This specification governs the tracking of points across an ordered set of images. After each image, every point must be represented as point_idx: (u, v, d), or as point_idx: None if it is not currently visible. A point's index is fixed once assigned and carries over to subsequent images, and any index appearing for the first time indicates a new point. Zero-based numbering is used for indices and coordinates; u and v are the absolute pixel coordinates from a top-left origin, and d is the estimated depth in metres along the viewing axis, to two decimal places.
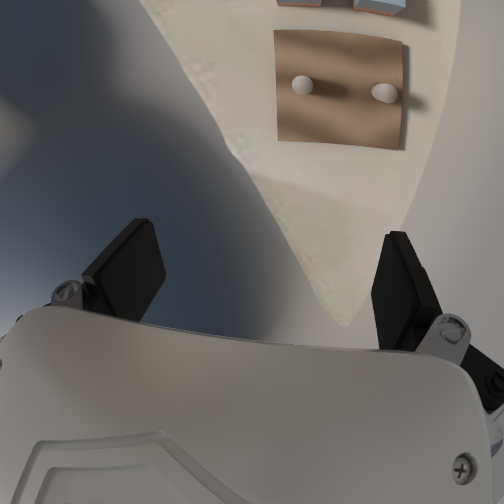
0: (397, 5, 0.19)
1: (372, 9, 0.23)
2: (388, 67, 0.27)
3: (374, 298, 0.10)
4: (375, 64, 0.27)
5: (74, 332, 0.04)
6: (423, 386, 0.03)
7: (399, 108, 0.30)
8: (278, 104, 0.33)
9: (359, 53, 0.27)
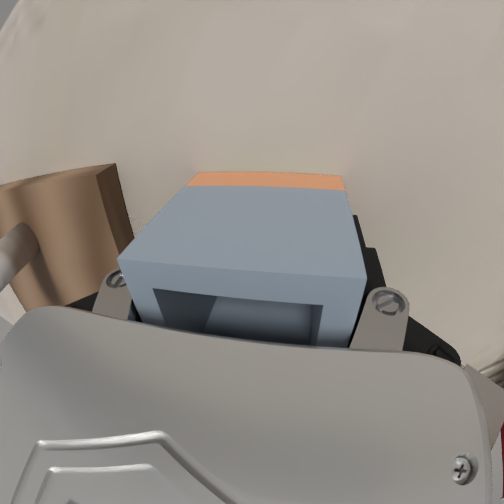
0: None
1: None
2: None
3: None
4: None
5: (74, 332, 0.04)
6: (423, 386, 0.03)
7: None
8: None
9: None
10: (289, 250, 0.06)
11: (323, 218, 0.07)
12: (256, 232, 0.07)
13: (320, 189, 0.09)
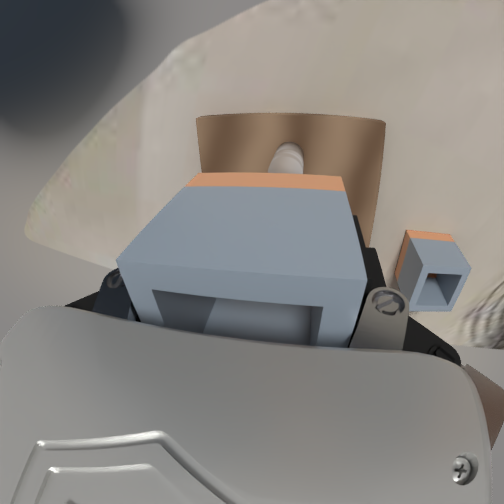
0: None
1: (405, 257, 0.26)
2: None
3: None
4: None
5: (74, 332, 0.04)
6: (423, 386, 0.03)
7: None
8: (255, 117, 0.21)
9: None
10: (289, 251, 0.06)
11: (323, 219, 0.07)
12: (256, 233, 0.07)
13: (320, 190, 0.09)
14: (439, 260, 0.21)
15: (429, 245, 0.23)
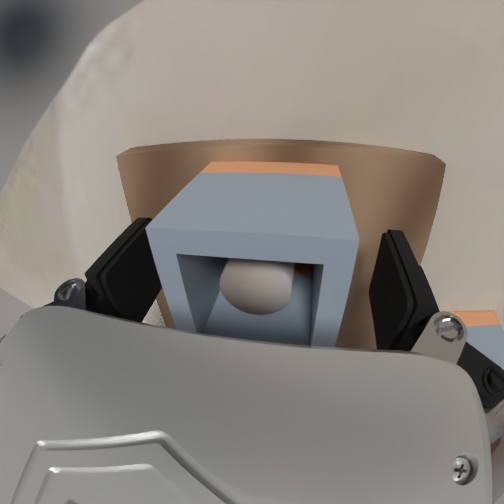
0: None
1: None
2: None
3: (372, 296, 0.10)
4: None
5: (74, 332, 0.04)
6: (423, 386, 0.03)
7: None
8: (209, 151, 0.12)
9: (353, 329, 0.17)
10: (294, 219, 0.07)
11: (322, 197, 0.09)
12: (266, 207, 0.08)
13: (319, 175, 0.10)
14: None
15: (471, 338, 0.14)
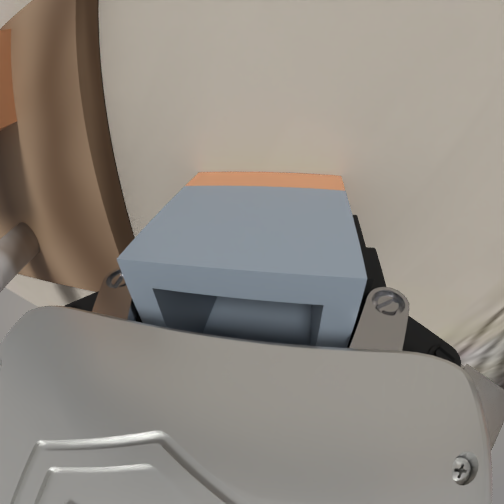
0: None
1: None
2: (69, 261, 0.14)
3: None
4: (60, 235, 0.13)
5: (74, 332, 0.04)
6: (423, 386, 0.03)
7: (33, 275, 0.16)
8: None
9: (60, 198, 0.11)
10: None
11: None
12: None
13: None
14: (208, 242, 0.07)
15: (225, 199, 0.09)
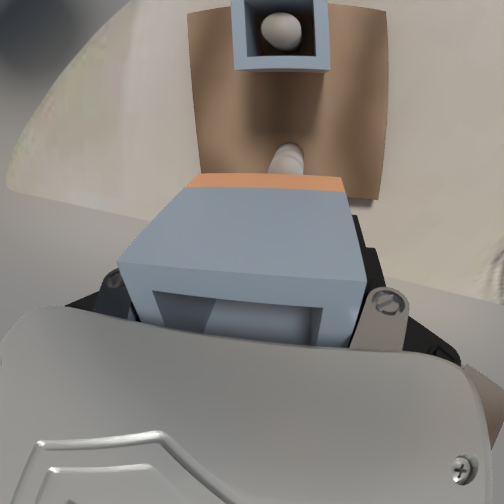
0: None
1: None
2: (333, 174, 0.23)
3: None
4: (336, 153, 0.22)
5: (74, 332, 0.04)
6: (423, 386, 0.03)
7: None
8: None
9: (352, 130, 0.20)
10: None
11: None
12: None
13: None
14: (208, 245, 0.07)
15: (225, 201, 0.09)
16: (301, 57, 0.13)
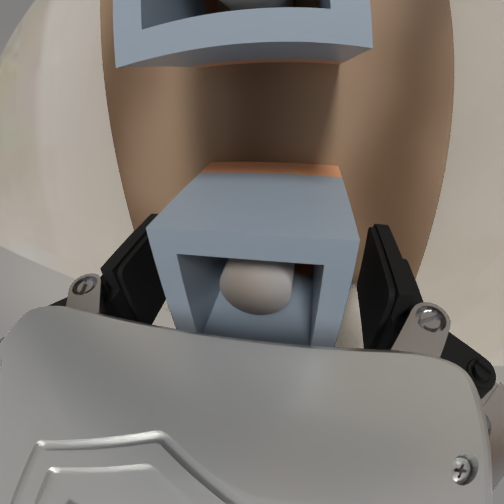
0: None
1: None
2: None
3: (359, 290, 0.11)
4: (356, 216, 0.12)
5: (74, 332, 0.04)
6: (423, 386, 0.03)
7: None
8: None
9: (387, 175, 0.11)
10: None
11: None
12: None
13: None
14: (226, 214, 0.08)
15: (238, 183, 0.10)
16: (287, 10, 0.04)
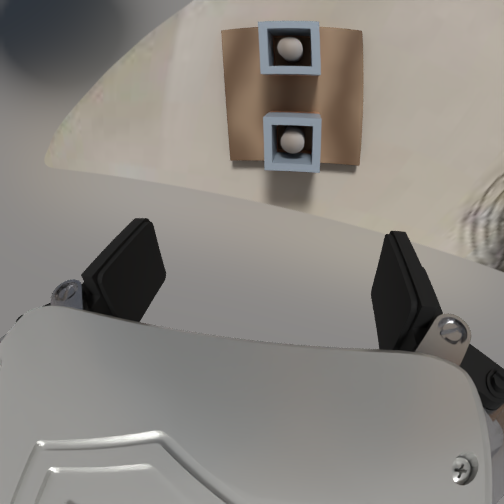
0: (264, 160, 0.28)
1: None
2: (325, 146, 0.31)
3: (374, 298, 0.10)
4: (327, 132, 0.30)
5: (74, 332, 0.04)
6: (423, 386, 0.03)
7: None
8: None
9: (338, 115, 0.29)
10: None
11: None
12: None
13: None
14: (285, 116, 0.25)
15: (284, 113, 0.27)
16: (302, 66, 0.21)
